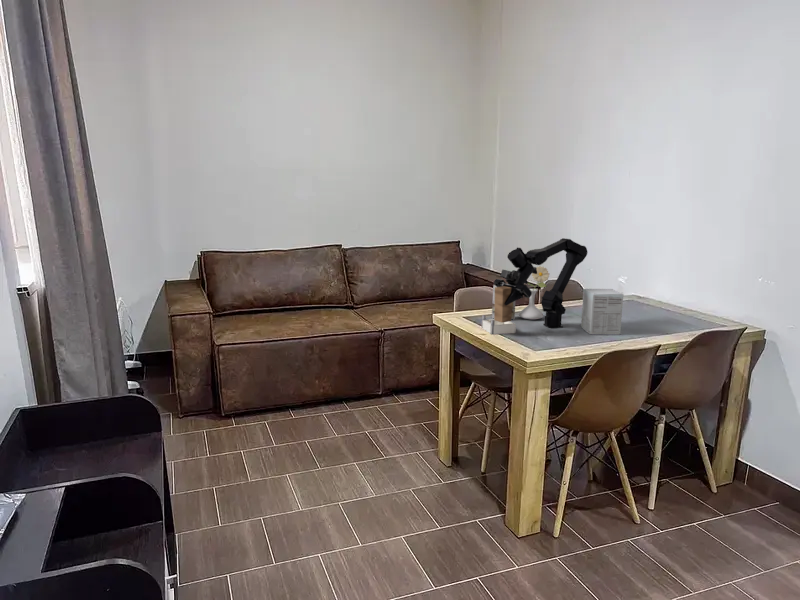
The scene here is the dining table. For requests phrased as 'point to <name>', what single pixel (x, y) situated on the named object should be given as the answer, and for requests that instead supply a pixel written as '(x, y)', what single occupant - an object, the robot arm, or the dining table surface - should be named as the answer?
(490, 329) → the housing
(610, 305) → the supplement box
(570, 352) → the dining table surface
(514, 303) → the coffee box
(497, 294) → the brown block
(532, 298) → the flower in vase
